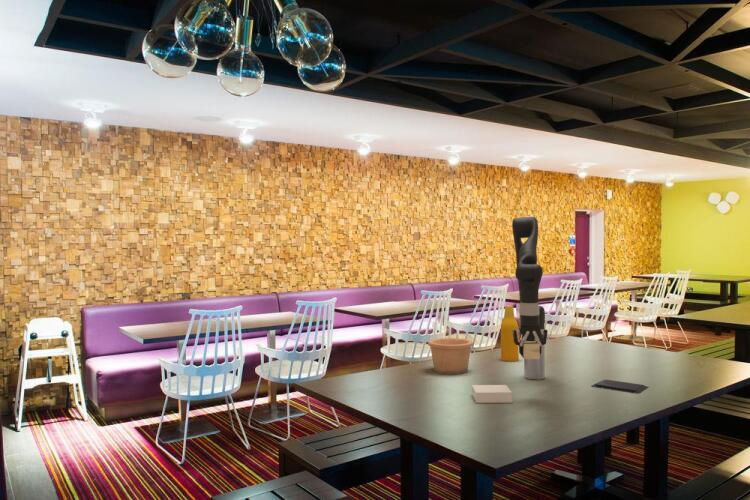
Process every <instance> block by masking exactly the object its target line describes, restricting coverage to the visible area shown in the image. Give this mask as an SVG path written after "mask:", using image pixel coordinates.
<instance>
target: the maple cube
mask: <svg viewBox="0 0 750 500" xmlns="http://www.w3.org/2000/svg"><path fill="white" fill-rule="evenodd" d="M520 356H521V355H520ZM521 358H523V360H524V359H540V345H539V343H537V342H536V341H531V342H524V343H523V356H521Z"/></svg>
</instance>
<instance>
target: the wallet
mask: <svg viewBox="0 0 750 500" xmlns="http://www.w3.org/2000/svg"><path fill="white" fill-rule="evenodd" d="M590 387H592V388H598V389H602V388H603V389H602V390H609V389H610V391H618V392H622V393H630V394H636V395H639V394H641V393H643V392H644V391H645V390H647V389H648V388H650V386H646V385H644V384H640V383H633V382H626V381H620V380H619V381H618V380H612V379H603V380H600V381H597V382H596V383H594V384H591V386H590Z"/></svg>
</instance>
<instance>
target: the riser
mask: <svg viewBox="0 0 750 500" xmlns="http://www.w3.org/2000/svg"><path fill="white" fill-rule="evenodd" d="M471 396H472V398H473V399H474V401H475V403H476V404H477V403H478V404H479V403H480V404H482V403H483V404H485V403H487V404H488V403H489V404H494V403H495V404H497V403H499V404H500V403H501V404H502V403H504V404H507V403H508V404H509V403H513V391H512V390H511V389H510V388H509V387H508V386H507V384H472V385H471Z"/></svg>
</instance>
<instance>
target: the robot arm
mask: <svg viewBox="0 0 750 500" xmlns="http://www.w3.org/2000/svg"><path fill="white" fill-rule="evenodd" d="M511 223H512V224H511V228H512V235H513V242H514V249H515V260H516V261H515V262H516V269H515V273H514V274H515V278H516V280H517V282H518V294H519V295H518V297H519V327H518V329H517V330H514V329H513V330H512V333H513V339H514V343H515V344H516V345H518V354H519V355H520V356H523V343H524V342H531V341H536V342H537V343H539V345H540V359H524V358H523V360H524V361H523V364H524V365H523V374H524V376H523V377H524V378H525V379H529V380H543V379H545V378H546V369H545V367H546V365H545V361H546V359H545V358H546V356H545V354H546V353H545V348H546V347H545V345H547V339H548V329H546V328H545V323H546V311H545V308H544V306H543V305H539V290H540V289H539V288H540V285H541V282H542V278H543V274H544V273H543V272H544V271H543V267H542V266H541V265H540V264H538V254H537V245H538V239H539V238H538V237H539V223H538V219H537V218H536V217H535V216H524V217H523V216H522V217H516V218H513V219H512V221H511ZM522 239H526V240H525V241H524V242H523V241H522ZM519 334H521V336H520V339H519V337H518V338H517V335H518V336H519Z"/></svg>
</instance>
